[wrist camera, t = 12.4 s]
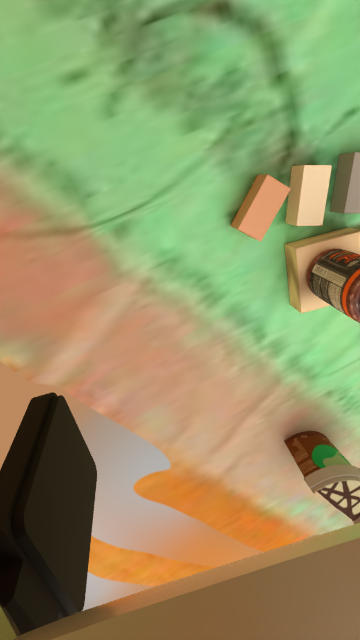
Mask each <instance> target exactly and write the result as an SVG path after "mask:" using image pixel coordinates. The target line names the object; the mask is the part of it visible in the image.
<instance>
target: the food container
mask: <svg viewBox="0 0 360 640" xmlns="http://www.w3.org/2000/svg"><path fill="white" fill-rule="evenodd" d="M284 442H285V443H286V445H287V447H288V449H289V451H290V452H291V454H292V456H293V458H294V460H295V461H296V463H297V465H298V467H299V468H300V470H301V472H302V474H303V476H304V477H305V478H304V480H305V481H306V483H307V484H308V486H309V488H310V489H311V490H312V492H313V493H315V492H318V493H319V494H321V495H322V496H323V497H324V498H325V499H327V500H328V501H329V502H330V503H331V504H332V505H333V506H334V507H336V508H337V509H339V510H340V511H342V512H343V513H344V514H346V515H347V516H348V517H349V518H351V519H352V521H353V522H354V524H357V523H360V468H357V467H355V466H352V465H351V464H350V463H349V462H348V461H347V460H346V458H345V457H344V456H343V455H342V454H341V453H340V452H339V451H338V450H337V449H336V447H335V446H334V445H333V444H332V443H331V442H330V441H329V440H328V439H327V438H326V436H324V435H323V434H321V433H319V432H315V431H306V432H301V433H298V434H295V435H293V436H291V437H290V438H288V439H287V440H285V441H284Z"/></svg>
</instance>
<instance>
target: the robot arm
mask: <svg viewBox="0 0 360 640" xmlns="http://www.w3.org/2000/svg"><path fill="white" fill-rule="evenodd" d="M96 481H97V470H96V465H95V462H94V460H93V458H92V456H91V454H90V452H89V449H88V447H87V445H86V443H85V441H84V439H83V437H82V435H81V432H80V430H79V428H78V426H77V424H76V422H75V419H74V417H73V415H72V413H71V411H70V409H69V406H68V404H67V402H66V400H65V398H64V397H63V396H62V395H61V396H57V395H56V394H55V393H53V392H52V393H49V394H45V395H41V396H38V397H34V398H32V399H31V401H30V403H29V405H28V408H27V410H26V412H25V415H24V417H23V420H22V422H21V424H20V426H19V429H18V431H17V433H16V436H15V438H14V440H13V443H12V445H11V447H10V450H9V452H8V454H7V457H6V459H5V461H4V463H3V465H2V468H1V470H0V640H360V523H357V524H354V525H351V526H348V527H344V528H341V529H338V530H335V531H331V532H328V533H325V534H322V535H319V536H315V537H313V538H309V539H306V540H302V541H299V542H296V543H293V544H290V545H286V546H283V547H280V548H277V549H274V550H270V551H267V552H264V553H261V554H258V555H255V556H251V557H249V558H245V559H242V560H239V561H236V562H233V563H229V564H226V565H223V566H220V567H217V568H213V569H210V570H207V571H204V572H201V573H198V574H194V575H191V576H188V577H185V578H182V579H178V580H175V581H172V582H169V583H166V584H163V585H159V586H156V587H153V588H150V589H148V590H144V591H141V592H138V593H135V594H132V595H130V596H126V597H123V598H120V599H118V600H115V601H112V602H109V603H106V604H103V605H100V606H97V607H94V608H91V609H88V610H85V611H82V610H83V607H84V601H85V592H86V581H87V572H88V562H89V552H90V542H91V532H92V522H93V511H94V501H95V491H96ZM81 611H82V612H81ZM78 612H79V613H78Z"/></svg>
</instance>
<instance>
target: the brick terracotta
mask: <svg viewBox="0 0 360 640" xmlns="http://www.w3.org/2000/svg"><path fill="white" fill-rule="evenodd" d="M290 190H291V189H290V188H289V187H287V186H285V185H284V184H282V183H281V182H279V181H277V180H276V179H274V178H273V177H271V176H269V175H268V174H267V175H258V176H257V177H256V179H255V181H254V183H253V185H252V187H251V189H250V190H249V192H248V194H247V196H246V198H245V200H244V202H243V203H242V205H241V207H240V209H239V211H238V213H237V215H236V216H235V218H234V220H233V222H232V224H231V226H232V227H234V228H236V229H237V230H239V231H241V232H243V233H245V234H246V235H248V236H250V237H252V238H254V239H256V240H258V241H261V240H262V239H263V237H264V235H265V233H266V232H267V230H268V228H269V226H270V225H271V223H272V221H273V219H274V218H275V216H276V214H277V212H278V211H279V209H280V207H281V205H282V204H283V202H284V200H285V198H286V197H287V195H288V193H289V191H290Z"/></svg>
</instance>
